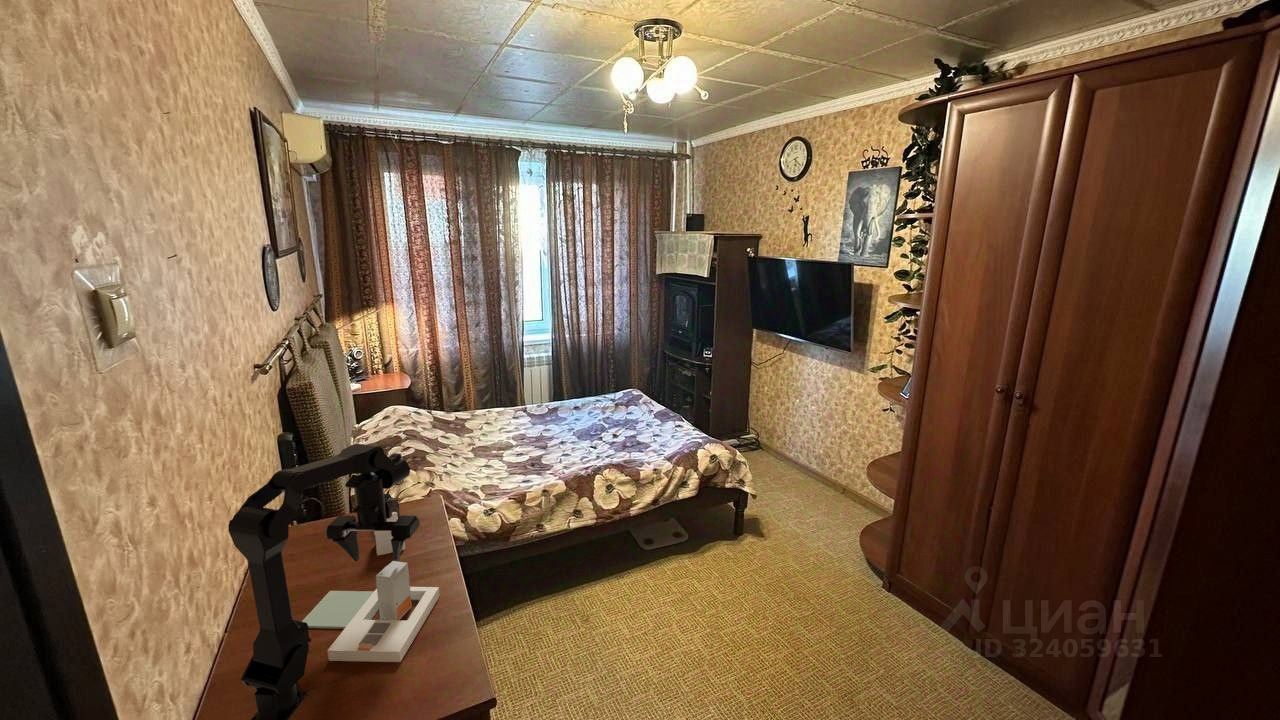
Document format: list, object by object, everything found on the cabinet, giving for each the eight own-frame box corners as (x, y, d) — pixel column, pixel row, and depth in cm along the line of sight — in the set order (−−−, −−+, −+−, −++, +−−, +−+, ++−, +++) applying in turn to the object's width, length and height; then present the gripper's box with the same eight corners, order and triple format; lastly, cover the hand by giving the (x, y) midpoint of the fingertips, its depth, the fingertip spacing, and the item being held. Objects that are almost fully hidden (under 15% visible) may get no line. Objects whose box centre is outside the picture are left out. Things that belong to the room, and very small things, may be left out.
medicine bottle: (377, 544, 149) (373, 506, 146) (404, 538, 152) (400, 501, 149) (376, 557, 143) (372, 518, 140) (405, 551, 146) (401, 512, 143)
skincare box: (396, 624, 118) (391, 578, 115) (380, 622, 118) (374, 575, 116) (413, 606, 123) (408, 562, 121) (397, 604, 124) (392, 560, 122)
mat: (351, 629, 116) (350, 626, 116) (298, 628, 116) (297, 625, 116) (378, 593, 128) (378, 591, 128) (330, 592, 128) (330, 590, 128)
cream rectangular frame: (400, 662, 107) (398, 649, 106) (328, 660, 107) (327, 647, 107) (439, 596, 127) (438, 585, 126) (379, 595, 127) (378, 584, 127)
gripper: (426, 482, 124) (431, 540, 127) (347, 482, 124) (354, 540, 127) (406, 504, 113) (412, 568, 116) (320, 504, 113) (328, 568, 116)
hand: (377, 560), depth 119 cm, fingers open, 9 cm apart
